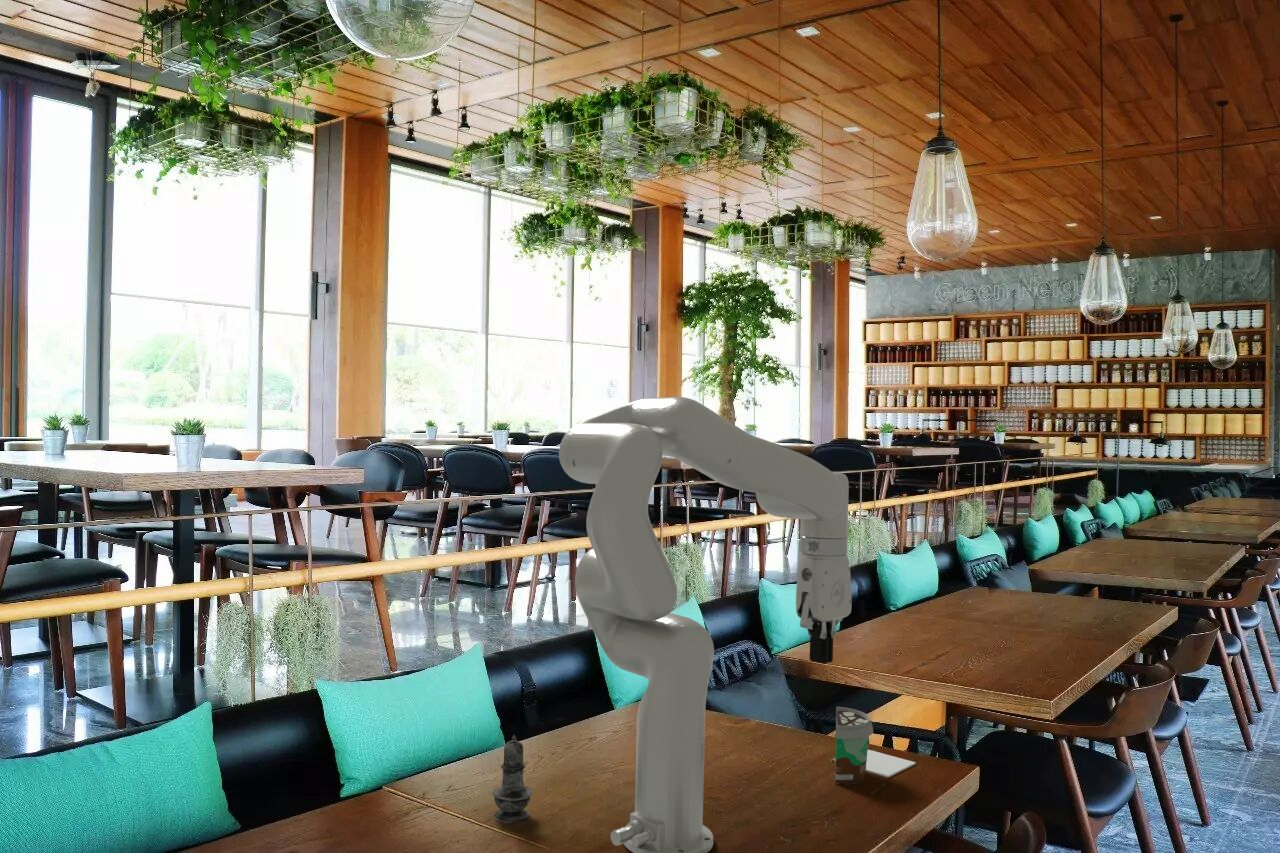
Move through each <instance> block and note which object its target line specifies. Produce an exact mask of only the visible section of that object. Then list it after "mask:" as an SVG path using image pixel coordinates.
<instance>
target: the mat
mask: <svg viewBox="0 0 1280 853" xmlns="http://www.w3.org/2000/svg"><path fill="white" fill-rule="evenodd" d="M832 759H833V760H834V759H835V758H832ZM915 765H917V762H916V761H912V760H908V759H905V758H900V757H898V756H893V755H890V754H885V753H883V752H878V751H875V750H871V749H868V751H867V762H866V773H870V774H873V775H876V776H880V777H883V778H887V779H888V778H890V777H893V776H895V775H897V774H899V773H901V772H903V771H905V770H907V769H909V768H911V767H913V766H915Z"/></svg>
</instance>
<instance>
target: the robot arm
mask: <svg viewBox="0 0 1280 853" xmlns="http://www.w3.org/2000/svg"><path fill="white" fill-rule="evenodd" d="M665 456H667V457H671V458H674V459H676V460H679V461H680V462H682V463H684V464H686V465H687V466H689V467H691V468H692V469H694V470H696V471H698V472H699V473H701V474H703V475H705V476H707V477H708V478H710V479H711V480H713V481H715V482H716V483H719V484H721V485H724V486H725V487H729V488H731V489H732V488H733V489H736V490H740V491H745V492H750V493H755V496H756V501H757V503H758V505H759V507H760V508H761V509H762V510H763V511H764V512H765V513H767V514H769V515H771V516H773V517H777V518H786V519H794V520H795V519H797V520H800V533H799V534H800V540H799V556H800V557H799V564H798V570H797V580H796V587H795V588H796V590H795V612H796V615H797V617H798V618H800V621H799V622H800V623H799V626H800V628H803V629H806V630H807V635H808V637H809V660H810V662H814V663H819V664H824V665H826V664H829V663H832V662H833V661H834V660H833V659H834V637H835V636H836V630H837V628H836V627H837V625H838V624H840V622H842V621H843V619H844V618H846V617H848V616H849V615H850V614H851V613H852V602H853V601H852V581H851V580H852V577H851V567H850V566H851V565H850V561H849V556H848V533H849V532H848V531H849V530H848V528H849V489H850V488H849V485H850V484H849V479H848V476H847V475H846V474H844V473H842V472H837V471H831V470H830V469H829V468H827V467H826V466H824V465H823V464H821V463H820V462H818V461H816V460H814V459H813V458H811V457H809V456H807V455H804V454H802V453H800V452H797V451H795V450H792V449H790V448H786V447H784V446H782V445H779V444H776V443H774V442H771V441H769V440H766V439H764V438H760V437H758V436H756V435H755V436H754V435H752V434H750V433H748V432H747V431H744V430H743V429H742V428H740V427H739V426H737V425H735V424H734V423H732V422H730V421H729V420H727V419H726V418H724V417H723V416H721V415H720V414H718V413H717V412H715V411H714V410H712V409H710V408H709V407H707V406H705V405H704V404H703V403H701V402H699V401H697V400H695V399H692V398H688V397H684V396H666V397H665V396H664V397H663V396H661V397H660V396H659V397H645V398H641V399H637V400H634V401H631V402H629V403H626V404H624V405H622V406H619V407H617V408H613V409H610V410H608V411H607V412H603V413H601V414H599V415H595V416H593V417H591V418H589V419H586V420H584V421H581V422H579V423H576V424H575V425H574V426H573V427H571V428H570V429H569V430H568V431H567V432H566V433H565V434H564V436H563V437H562V439H561V442H560V445H559V449H558V458H559V463H560V465H561V468H562V469H563V471H564V473H565V474H566V475H568V477H569V478H571V479H573V480H575V481H576V482H579V483H581V484H582V483H583V484H589V485H595V488H594V490H593V492H592V496H591V499H590V501H589V505H588V509H587V514H586V522H585V523H586V524H585V525H586V533H587V534H586V535H587V537H588V540H589V543H590V545H591V547H592V548H590V550H588V551H587V552H585V554H584V555H583V556H582V557H581V559H580V561H579V562H578V565H577V568H576V572H575V578H574V583H575V586H574V587H575V591H576V596H577V598H578V602H579V604H580V606H581V608H582V610H583V613H584V615H585V617H586V619H587V621H588V623H589V625H590V627H591V629H592V631H593V633H594V635H595V637H596V639H597V642H598V643H599V645H600V648H601V649H602V651H603V653H604V654H605V656H606V657H607V658H608V660H609V661H610V662H611V663H612V664H613V665H614V666H615V667H617V668H619V669H620V670H623V671H626V672H628V673H630V674H634V675H636V676H639V677H644V679H645V678H646V679H648V684H647V686H646V689H645V691H644V693H643V695H642V697H641V700H640V702H639V704H638V708H637V709H638V710H637V714H636V749H635V750H636V751H635V752H636V754H635V785H634V786H635V792H634V793H635V794H634V811H633V812H631V813H630V814H629V822H627V823H626V825H625V826H622V827H620V828H617V829H615V830H613V831H611V833H610V840H611V842H612V844H613V846H617V847H618V846H621V845H624V847H625V848H626V849H627V850H629V851H630V852H631V853H708V852H710V851H711V850H712V848H713V847H714V835H713V832H712V831H711V830H710V829H709V828H708V827H707V826H705V825H704V824H703V818H704V780H705V778H704V777H705V776H704V774H705V742H706V741H705V740H706V739H705V737H706V736H705V733H706V732H705V730H706V729H705V728H706V705H707V704H706V703H707V693H708V687H709V681H710V677H711V673H712V669H713V663H714V660H715V659H714V656H715V647H714V646H715V645H714V641H713V640H712V637H711V634H710V632H709V630H707V629H706V628H705V627H704V626H703V625H702V624H701V623H699V622H698V621H696V620H695V619H693V618H690V617H687V616H683V615H680V614H676V613H672V611H673V609H674V608H675V606H676V604H677V600H678V586H677V582H676V580H675V576H674V574H673V571H672V569H671V567H670V565H669V562H668V561H667V557H666V555H665V553H664V551H663V548H662V547H661V545H660V543H659V540H658V538H657V535H656V533H655V531H654V527H653V525H652V523H651V520H650V516H649V502H650V496H651V493H652V490H653V486H654V484H655V482H656V480H657V477H658V475H659V472H660V469H661V467H662V462H663V457H665Z"/></svg>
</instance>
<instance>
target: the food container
mask: <svg viewBox="0 0 1280 853" xmlns="http://www.w3.org/2000/svg"><path fill="white" fill-rule="evenodd" d="M835 708H836V709H835V747H834V748H835V749H834V750H835V752H834V753H835V754H834V755H835V757H834V759H835V762H834V765H835V764H836V774H835V773H834V774H835V775H834V778H835V779H834V780H835V781H834V782H835V783H839V784H838V785H841V784H844V785H854V784H859V783H862V782H863V781H865V779H866V773H867V772H866V762H867V751H868V750H869V738H870V736H871V735H872V734H873V733H874V727H873V723H872V720H871V717H870V716H869V715H868V714H867V713H865V712H863V711H860V710H858V709H853V708H849V707H843V706H836V707H835Z"/></svg>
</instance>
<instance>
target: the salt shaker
mask: <svg viewBox="0 0 1280 853" xmlns="http://www.w3.org/2000/svg"><path fill="white" fill-rule="evenodd" d="M511 739H512V740H509V741H507V742H506V743H505V744H504V747H503V763H502V764H501V765H500V768H501V769H502V781H501V785H500V786H498V787H497V788H495V789H494V790H493V791H492V797H494V802H495V806H496V807H498V809H499V810H498V811H496V812H495V813H494V815H493V819H494V818H495V819H496V820H497V821H496V820H495V819H494V820H495V821H496V822H498V821H500V822H499V823H501V822H505V823H504V824H506V823H515V824H519V823H518V822H521V823H523V822H522V821H524V822H526V821H528V820H529V819H530V816H531V815H530V812H528V811H527V810H526V809H525V808H526V807H527V806H528V804H529V803H530V800H531V796H532V795H533V790H532V789H531V788H530V787H528V786H526V785H525V783H524V770H525V769H526V764H524V745H523V744H522V742H521V741H519V740H517V737H516V735H515V734H513V736H512V737H511ZM528 818H529V819H528ZM527 819H528V820H527ZM525 820H526V821H525Z"/></svg>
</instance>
